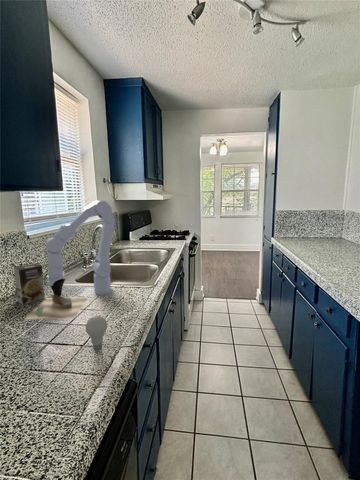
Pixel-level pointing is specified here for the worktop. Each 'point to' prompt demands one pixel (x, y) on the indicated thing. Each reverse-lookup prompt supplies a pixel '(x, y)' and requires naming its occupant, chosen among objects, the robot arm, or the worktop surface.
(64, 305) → the lever
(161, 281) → the worktop surface
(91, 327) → the lightbulb
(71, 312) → the dial board
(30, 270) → the coffee box
